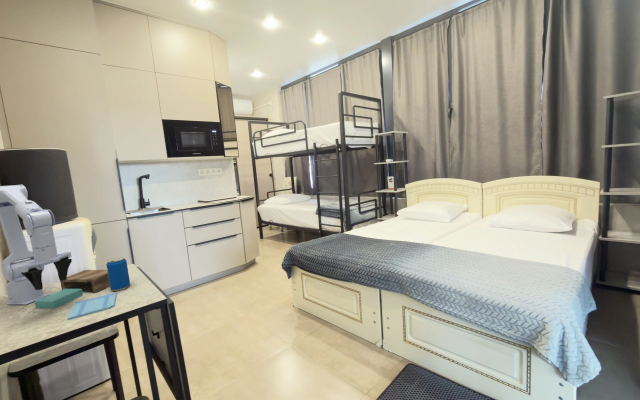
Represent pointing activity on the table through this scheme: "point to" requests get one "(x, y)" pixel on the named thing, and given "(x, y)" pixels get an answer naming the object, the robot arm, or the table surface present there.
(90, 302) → the light blue flat pad
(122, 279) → the beverage can
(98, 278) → the wooden box
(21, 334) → the table surface
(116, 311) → the table surface
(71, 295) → the teal slab tile
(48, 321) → the table surface
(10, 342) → the table surface
